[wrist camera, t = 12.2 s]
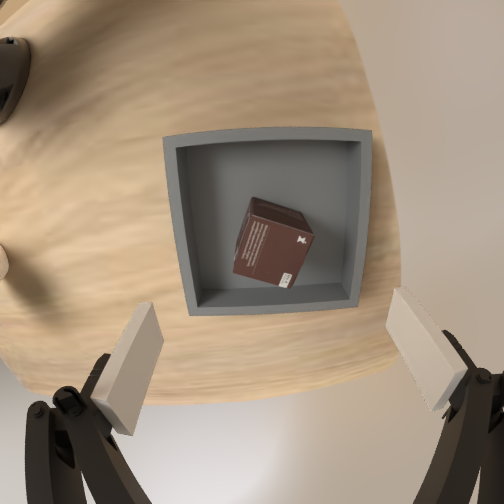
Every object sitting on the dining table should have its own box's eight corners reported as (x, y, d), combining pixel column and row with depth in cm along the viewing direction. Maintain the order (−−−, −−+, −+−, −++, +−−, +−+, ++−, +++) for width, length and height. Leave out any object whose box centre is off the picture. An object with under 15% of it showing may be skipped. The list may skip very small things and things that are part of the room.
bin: (175, 136, 28) (162, 137, 23) (355, 130, 27) (372, 130, 23) (195, 295, 36) (189, 316, 31) (347, 287, 35) (357, 307, 31)
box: (251, 194, 30) (251, 212, 23) (303, 211, 31) (317, 234, 24) (235, 243, 32) (230, 273, 25) (283, 258, 33) (291, 291, 26)
